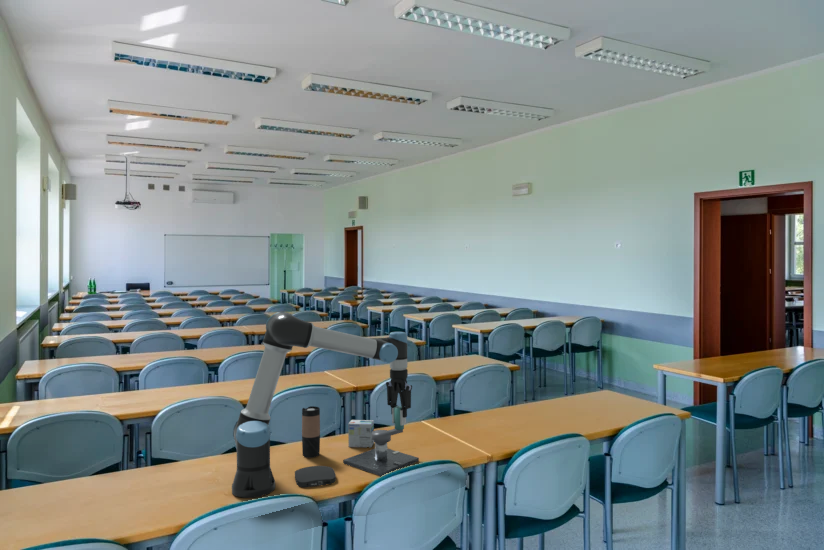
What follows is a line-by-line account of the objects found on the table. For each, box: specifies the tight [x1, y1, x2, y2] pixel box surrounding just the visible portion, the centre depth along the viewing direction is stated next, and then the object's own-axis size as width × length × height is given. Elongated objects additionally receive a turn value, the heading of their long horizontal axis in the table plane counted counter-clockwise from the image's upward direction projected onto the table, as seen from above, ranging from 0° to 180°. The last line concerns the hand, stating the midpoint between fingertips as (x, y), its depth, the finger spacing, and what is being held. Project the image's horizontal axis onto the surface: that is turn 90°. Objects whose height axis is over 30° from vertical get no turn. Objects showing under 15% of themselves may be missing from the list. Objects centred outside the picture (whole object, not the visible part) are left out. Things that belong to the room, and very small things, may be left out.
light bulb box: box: [347, 419, 375, 449], centre depth 252 cm, size 11×7×11 cm, turn 84°
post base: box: [342, 442, 420, 477], centre depth 230 cm, size 22×22×9 cm
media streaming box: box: [294, 465, 337, 488], centre depth 213 cm, size 15×15×3 cm
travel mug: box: [301, 405, 321, 459], centre depth 239 cm, size 8×8×20 cm
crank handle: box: [371, 405, 405, 444], centre depth 233 cm, size 8×16×12 cm, turn 133°
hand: (399, 423), depth 237 cm, fingers closed on crank handle, 4 cm apart
